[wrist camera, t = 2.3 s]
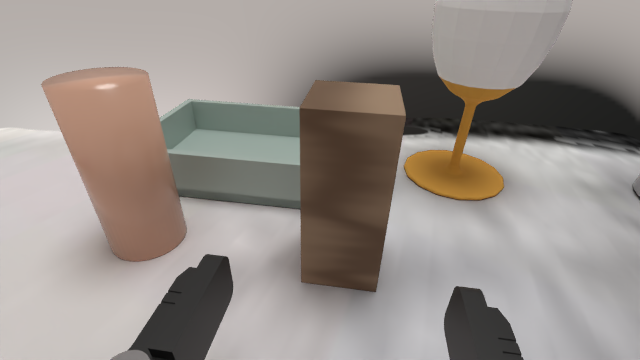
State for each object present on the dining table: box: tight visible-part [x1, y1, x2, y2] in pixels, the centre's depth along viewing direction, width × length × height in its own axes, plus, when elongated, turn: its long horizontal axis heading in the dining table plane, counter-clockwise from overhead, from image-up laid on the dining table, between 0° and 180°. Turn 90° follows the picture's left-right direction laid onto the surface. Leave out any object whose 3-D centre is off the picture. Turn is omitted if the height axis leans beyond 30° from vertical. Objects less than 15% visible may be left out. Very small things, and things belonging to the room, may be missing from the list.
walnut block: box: [299, 80, 406, 292], centre depth 19 cm, size 4×4×11 cm
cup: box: [404, 0, 573, 200], centre depth 27 cm, size 9×9×16 cm
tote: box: [159, 99, 301, 209], centre depth 31 cm, size 19×12×4 cm, turn 82°
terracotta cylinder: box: [41, 67, 187, 261], centre depth 20 cm, size 5×5×11 cm
